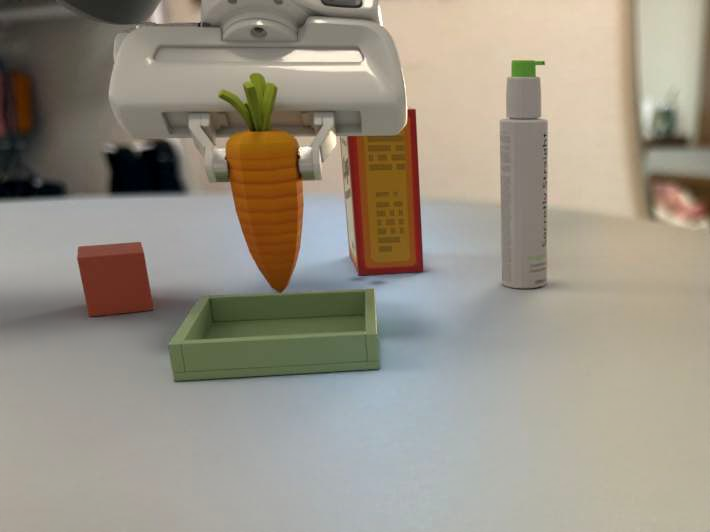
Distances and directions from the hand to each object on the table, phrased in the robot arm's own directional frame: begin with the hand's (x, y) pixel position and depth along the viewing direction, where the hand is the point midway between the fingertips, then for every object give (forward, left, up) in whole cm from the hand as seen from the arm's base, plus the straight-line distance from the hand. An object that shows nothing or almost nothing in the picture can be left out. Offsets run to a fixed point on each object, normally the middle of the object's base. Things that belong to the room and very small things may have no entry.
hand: (265, 176), depth 59 cm
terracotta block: (-15, +15, -13) cm, 24 cm away
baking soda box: (+8, +28, -13) cm, 31 cm away
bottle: (+21, +17, -13) cm, 30 cm away
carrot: (0, +1, -9) cm, 9 cm away
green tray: (0, +1, -13) cm, 13 cm away
